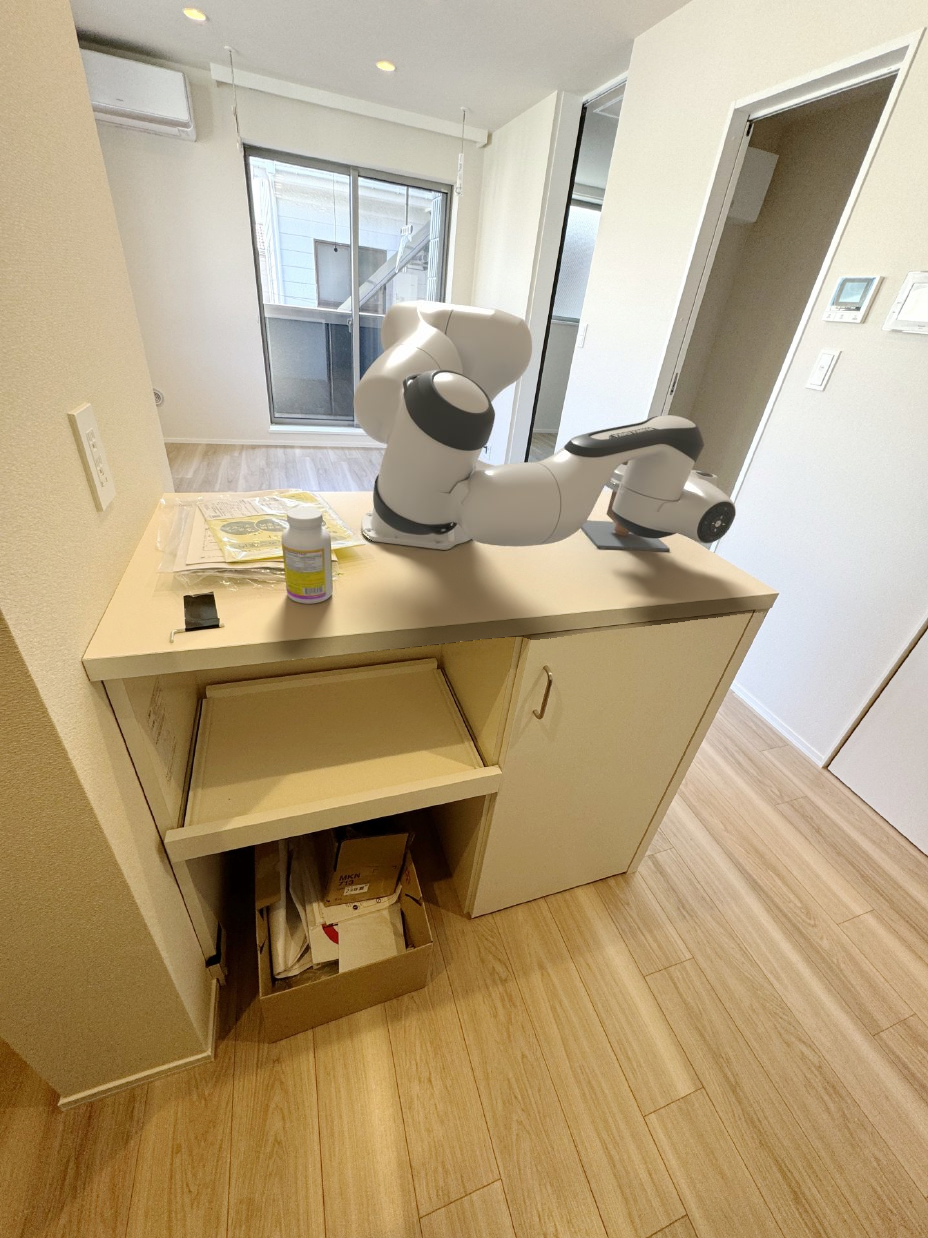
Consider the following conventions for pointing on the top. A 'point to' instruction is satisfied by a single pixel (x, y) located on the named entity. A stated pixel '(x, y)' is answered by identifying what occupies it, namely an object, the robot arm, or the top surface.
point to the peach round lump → (620, 530)
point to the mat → (619, 538)
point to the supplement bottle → (307, 556)
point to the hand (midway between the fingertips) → (638, 468)
